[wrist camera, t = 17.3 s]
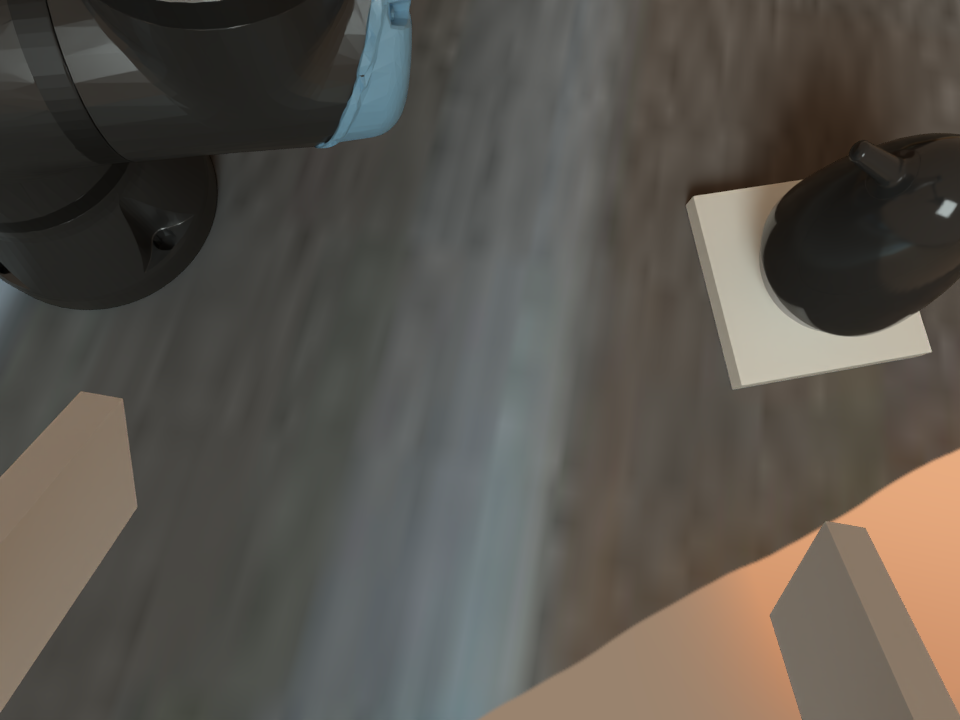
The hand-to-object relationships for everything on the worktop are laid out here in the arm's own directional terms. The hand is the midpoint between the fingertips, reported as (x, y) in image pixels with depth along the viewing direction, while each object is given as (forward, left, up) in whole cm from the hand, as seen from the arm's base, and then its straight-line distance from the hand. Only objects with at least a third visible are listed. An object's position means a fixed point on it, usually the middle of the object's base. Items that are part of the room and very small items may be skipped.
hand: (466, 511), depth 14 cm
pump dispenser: (-11, +26, -30) cm, 41 cm away
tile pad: (-11, +26, -32) cm, 42 cm away
